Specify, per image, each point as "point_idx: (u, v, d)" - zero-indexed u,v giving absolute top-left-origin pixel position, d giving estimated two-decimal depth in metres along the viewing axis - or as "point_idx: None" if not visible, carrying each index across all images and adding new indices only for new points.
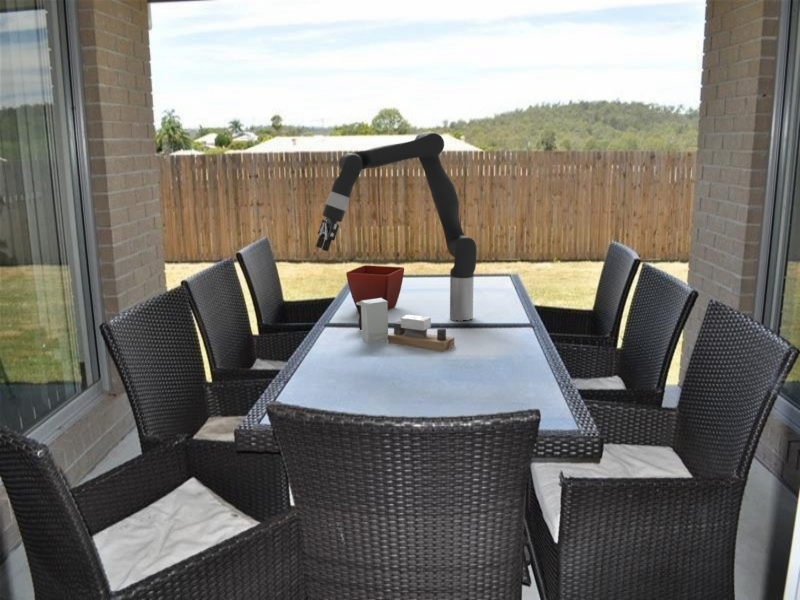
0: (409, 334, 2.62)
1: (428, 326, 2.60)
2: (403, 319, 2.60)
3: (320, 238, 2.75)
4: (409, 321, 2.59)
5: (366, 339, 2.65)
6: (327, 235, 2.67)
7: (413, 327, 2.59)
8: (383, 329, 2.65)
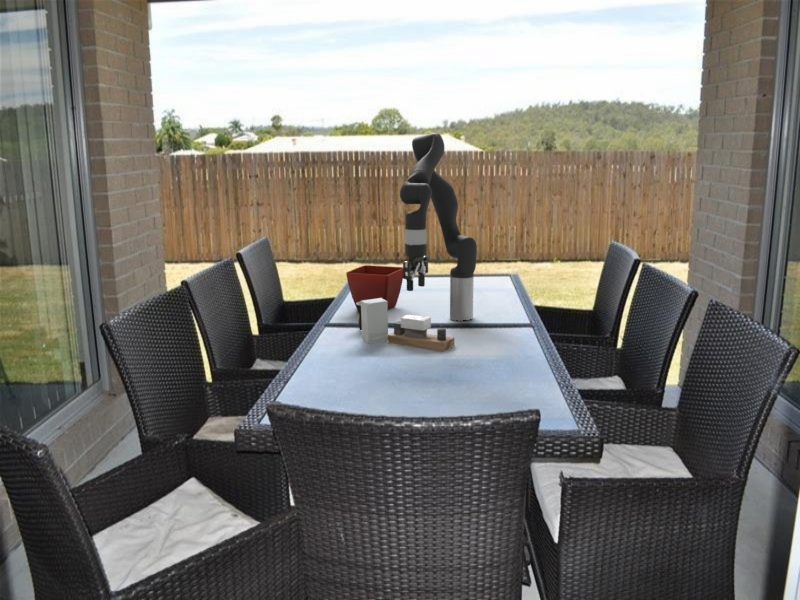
0: (409, 334, 2.62)
1: (428, 326, 2.60)
2: (403, 319, 2.60)
3: None
4: (409, 321, 2.59)
5: (366, 339, 2.65)
6: None
7: (413, 327, 2.59)
8: (383, 329, 2.65)
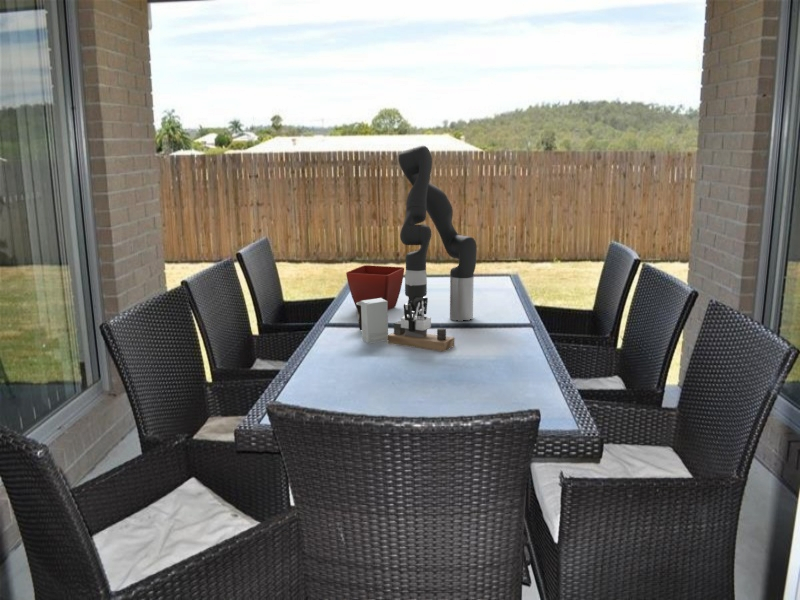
0: (409, 334, 2.62)
1: (428, 326, 2.60)
2: (403, 319, 2.60)
3: None
4: None
5: (366, 339, 2.65)
6: None
7: None
8: (383, 329, 2.65)
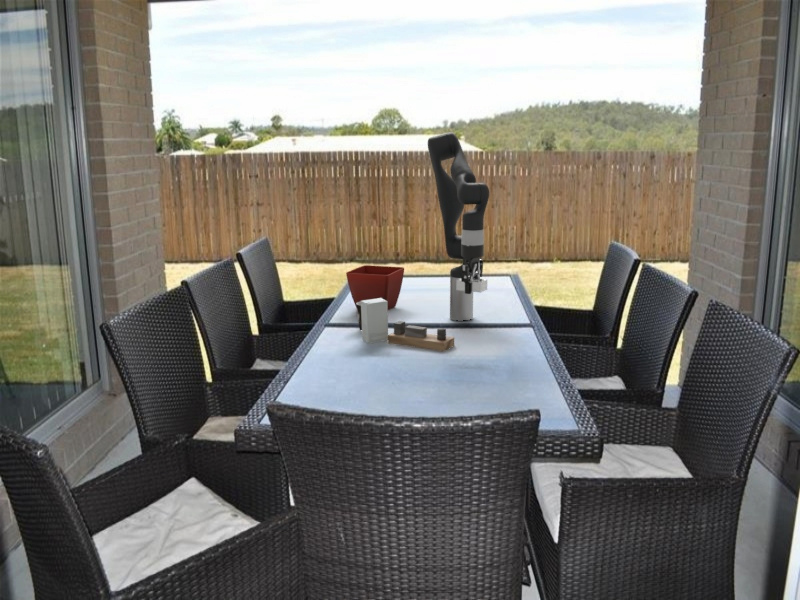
0: (409, 334, 2.62)
1: (485, 288, 2.53)
2: (459, 281, 2.53)
3: None
4: None
5: (366, 339, 2.65)
6: None
7: None
8: (383, 329, 2.65)
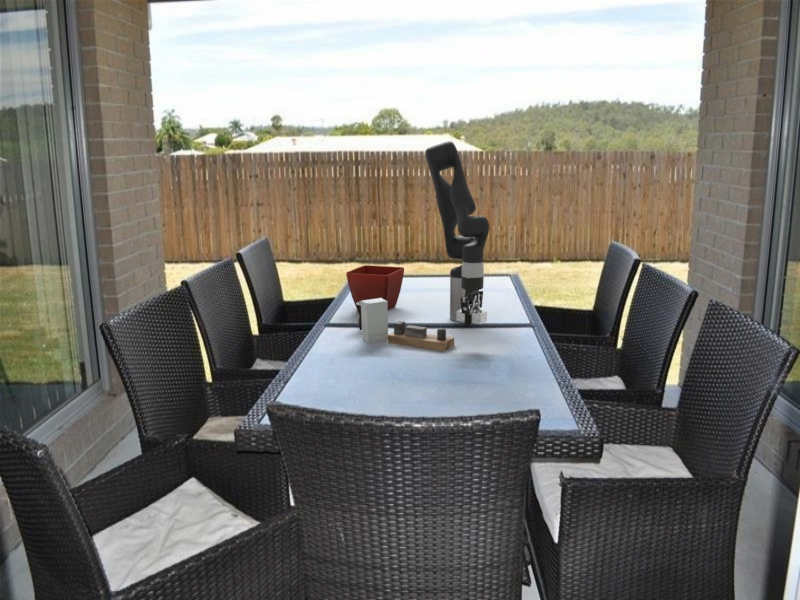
0: (409, 334, 2.62)
1: (484, 320, 2.55)
2: (459, 312, 2.56)
3: None
4: None
5: (366, 339, 2.65)
6: (478, 305, 2.59)
7: None
8: (383, 329, 2.65)
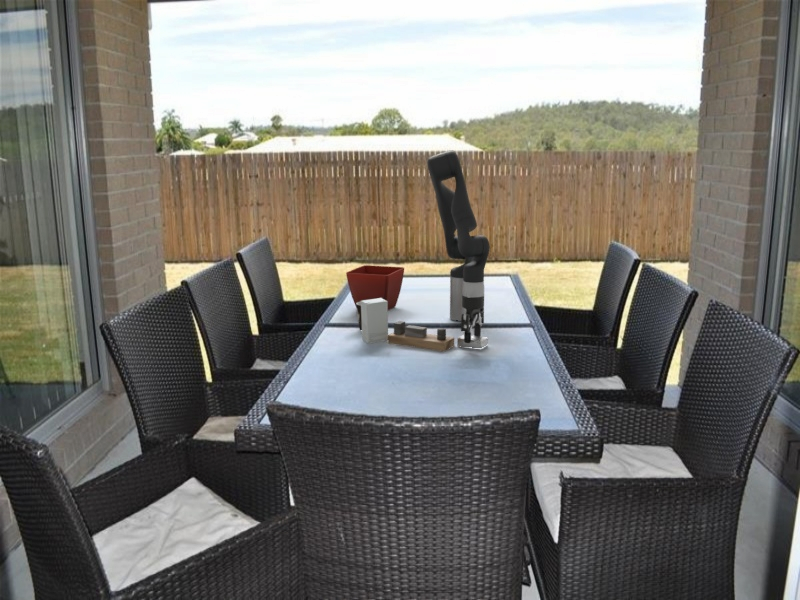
0: (409, 334, 2.62)
1: None
2: (460, 339, 2.58)
3: None
4: None
5: (366, 339, 2.65)
6: (480, 321, 2.61)
7: None
8: (383, 329, 2.65)
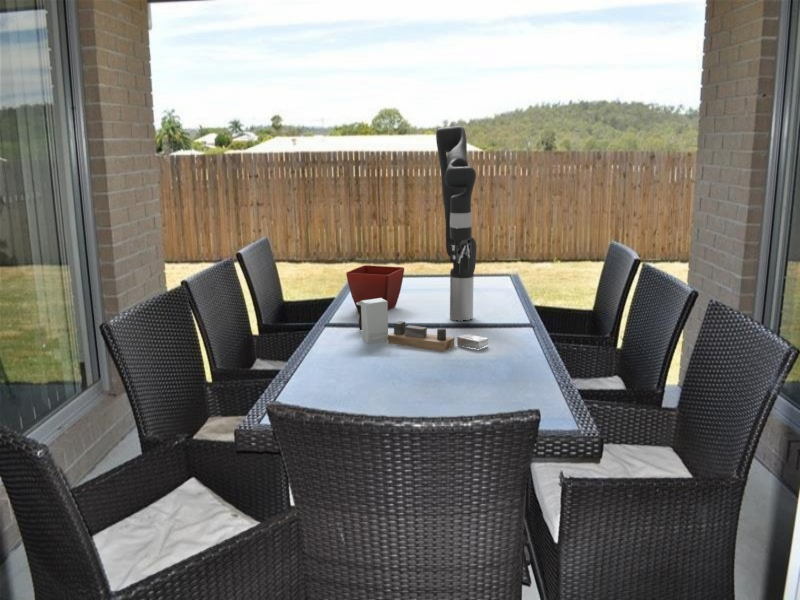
0: (409, 334, 2.62)
1: None
2: (459, 338, 2.59)
3: None
4: (465, 341, 2.57)
5: (366, 339, 2.65)
6: (468, 253, 2.64)
7: None
8: (383, 329, 2.65)
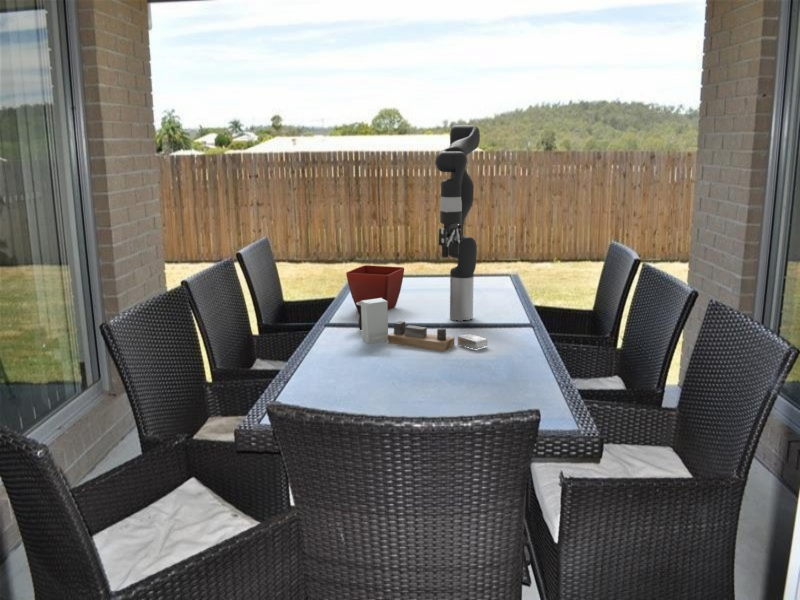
0: (409, 334, 2.62)
1: None
2: (459, 338, 2.60)
3: None
4: (464, 340, 2.58)
5: (366, 339, 2.65)
6: (458, 238, 2.67)
7: None
8: (383, 329, 2.65)
